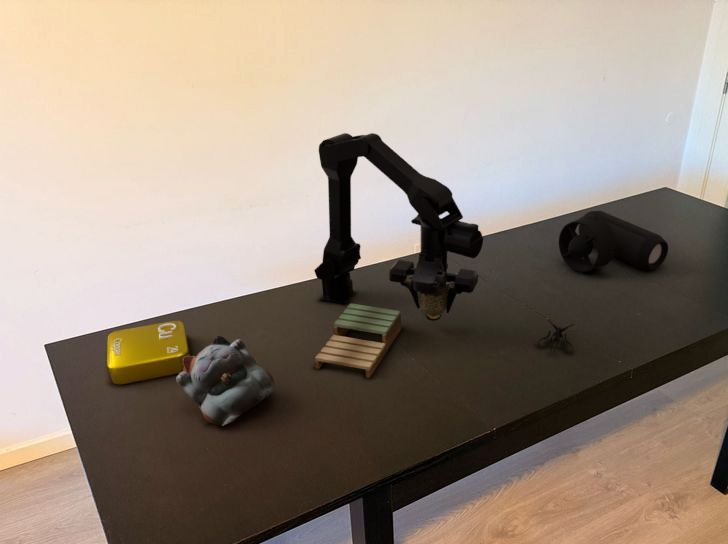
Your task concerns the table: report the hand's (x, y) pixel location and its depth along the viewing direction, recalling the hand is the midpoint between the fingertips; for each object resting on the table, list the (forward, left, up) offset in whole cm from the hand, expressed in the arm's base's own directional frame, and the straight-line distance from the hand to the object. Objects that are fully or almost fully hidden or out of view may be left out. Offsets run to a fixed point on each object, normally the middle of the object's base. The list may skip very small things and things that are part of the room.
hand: (433, 310), depth 147 cm
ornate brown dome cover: (0, 0, -2) cm, 2 cm away
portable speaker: (+39, +54, -5) cm, 67 cm away
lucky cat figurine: (-29, -38, -5) cm, 48 cm away
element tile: (-53, -29, -5) cm, 61 cm away
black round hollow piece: (+29, +41, -5) cm, 51 cm away
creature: (+28, +1, -5) cm, 28 cm away
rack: (-13, -12, -5) cm, 18 cm away
